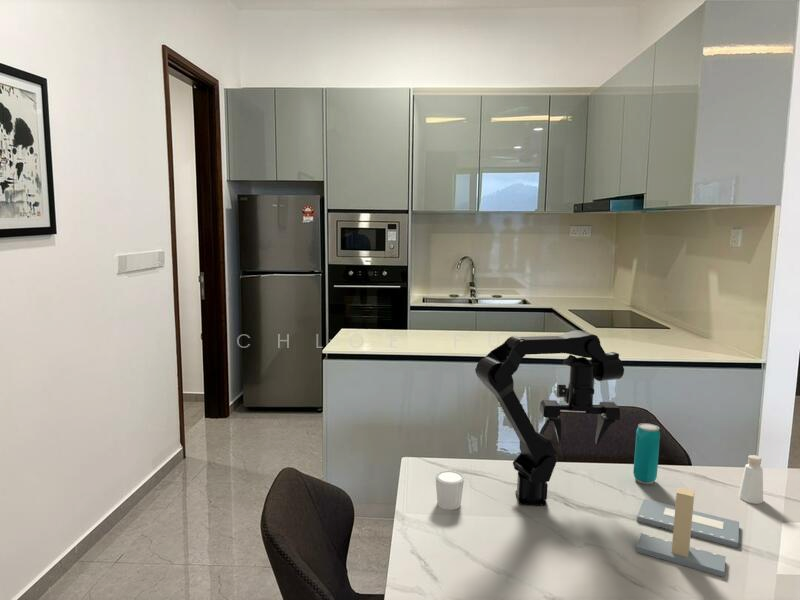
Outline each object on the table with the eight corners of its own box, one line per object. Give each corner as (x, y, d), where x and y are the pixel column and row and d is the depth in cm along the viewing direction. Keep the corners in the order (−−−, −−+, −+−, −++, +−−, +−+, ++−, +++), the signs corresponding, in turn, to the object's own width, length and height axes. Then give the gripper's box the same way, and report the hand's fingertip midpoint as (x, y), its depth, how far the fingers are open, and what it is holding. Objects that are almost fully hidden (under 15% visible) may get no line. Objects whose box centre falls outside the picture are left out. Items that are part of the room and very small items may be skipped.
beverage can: (653, 477, 154) (658, 423, 152) (658, 486, 149) (662, 431, 147) (631, 474, 155) (635, 421, 153) (634, 484, 150) (638, 429, 148)
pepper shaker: (741, 491, 147) (745, 450, 145) (766, 499, 143) (770, 457, 141) (735, 498, 143) (739, 456, 141) (760, 506, 139) (764, 463, 137)
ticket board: (636, 521, 131) (637, 515, 131) (643, 503, 140) (644, 498, 140) (737, 548, 121) (738, 542, 121) (738, 526, 130) (739, 521, 129)
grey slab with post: (635, 551, 119) (640, 487, 117) (640, 537, 124) (645, 476, 122) (723, 577, 111) (730, 508, 109) (725, 561, 116) (731, 495, 114)
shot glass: (431, 507, 136) (431, 479, 135) (440, 495, 143) (440, 468, 142) (458, 513, 134) (459, 485, 133) (466, 500, 140) (467, 473, 139)
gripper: (610, 374, 149) (606, 432, 151) (537, 372, 150) (534, 429, 152) (624, 387, 138) (620, 449, 140) (545, 384, 139) (542, 446, 141)
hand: (578, 442), depth 144 cm, fingers open, 9 cm apart
